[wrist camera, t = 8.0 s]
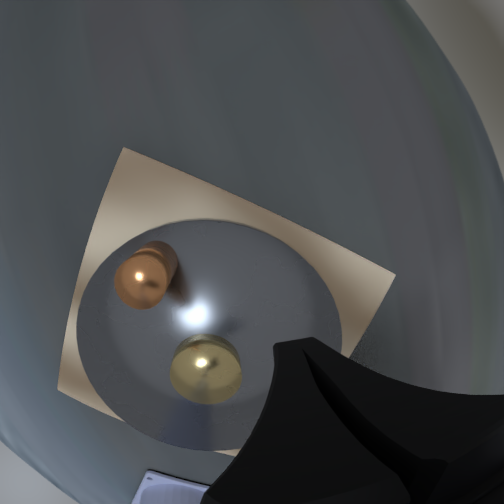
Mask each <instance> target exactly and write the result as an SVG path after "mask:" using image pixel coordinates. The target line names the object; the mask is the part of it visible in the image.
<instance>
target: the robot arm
mask: <svg viewBox="0 0 504 504" xmlns="http://www.w3.org/2000/svg"><path fill="white" fill-rule="evenodd" d="M273 357H274V371H273V377H272V382H271V385H270V389H269V393H268V396H267V399H266V402H265V405H264V407H263V410H262V412H261V414H260V417H259V419H258V421H257V423H256V425H255V427H254V428H253V430H252V432H251V434H250V436H249V438H248V439H247V441H246V442H245V444H244V445H243V447H242V448H241V450H240V451H239V453H238V454H237V455H236V457H235V458H234V460H233V461H232V462H231V464H230V465H229V466H228V467H227V469H226V470H225V471H224V472H223V473H222V474H221V475H220V476H219V478H218V479H217V480H216V481H215V482H214V483H213V484H212V485H211V486H206V485H202V484H197V483H193V482H189V481H185V480H181V479H178V478H174V477H171V476H167V475H164V474H161V473H157V472H154V471H147V472H146V473H145V475H144V477H143V480H142V482H141V484H140V486H139V488H138V490H137V492H136V494H135V497H134V499H133V501H132V503H131V504H504V395H467V394H456V393H448V392H441V391H435V390H431V389H426V388H422V387H417V386H414V385H410V384H407V383H404V382H401V381H398V380H395V379H392V378H389V377H386V376H384V375H381V374H379V373H377V372H375V371H373V370H370V369H368V368H366V367H364V366H362V365H360V364H358V363H356V362H354V361H353V360H351V359H349V358H347V357H345V356H344V355H342V354H340V353H339V352H337V351H335V350H334V349H332V348H331V347H329V346H327V345H326V344H324V343H323V342H321V341H319V340H318V339H316V338H314V337H308V338H302V339H296V340H290V341H284V342H278V343H275V344H274V345H273Z"/></svg>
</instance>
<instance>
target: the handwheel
mask: <svg viewBox="0 0 504 504" xmlns="http://www.w3.org/2000/svg"><path fill="white" fill-rule="evenodd" d="M308 337H314V338H316V339H318V340H319V341H321V342H323V343H324V344H326V345H327V346H329V347H331V348H332V349H334V350H335V351H337V352H339V353H340V354H341V350H342V327H341V322H340V316H339V312H338V309H337V306H336V304H335V301H334V298H333V296H332V294H331V292H330V291H329V289H328V287H327V285H326V283H325V282H324V281H323V279H322V278H321V277H320V275H319V274H318V273H317V271H316V270H315V269H314V268H313V267H312V266H311V265H310V264H309V263H308V262H307V261H306V260H305V259H304V258H303V257H302V256H301V255H300V254H299V253H298V252H297V251H296V250H294V249H293V248H291V247H290V246H289V245H287V244H286V243H285V242H283V241H282V240H280V239H279V238H277V237H275V236H273V235H271V234H269V233H267V232H265V231H263V230H261V229H258V228H255V227H253V226H250V225H247V224H244V223H239V222H235V221H230V220H225V219H213V218H196V219H184V220H179V221H174V222H168V223H165V224H163V225H160V226H157V227H154V228H151V229H149V230H147V231H145V232H143V233H141V234H139V235H137V236H135V237H133V238H132V239H130V240H129V241H127V242H126V243H125V244H123V245H122V246H120V247H119V248H118V249H116V250H115V251H114V252H112V253H111V254H110V255H109V256H108V257H107V258H106V259H105V260H104V261H103V262H102V263H101V264H100V266H99V267H98V269H97V270H96V271H95V273H94V274H93V275H92V277H91V278H90V280H89V282H88V284H87V286H86V288H85V290H84V292H83V295H82V298H81V302H80V305H79V308H78V315H77V322H76V339H77V345H78V352H79V356H80V359H81V362H82V366H83V368H84V370H85V373H86V375H87V377H88V379H89V381H90V383H91V384H92V386H93V388H94V389H95V391H96V393H97V394H98V395H99V396H100V398H101V399H102V400H103V401H104V403H105V404H106V405H107V406H108V407H109V408H110V409H111V410H112V411H113V412H114V413H115V414H116V415H117V416H118V417H120V418H121V419H122V420H123V421H125V422H126V423H127V424H129V425H130V426H132V427H133V428H135V429H136V430H138V431H140V432H141V433H143V434H145V435H147V436H149V437H151V438H154V439H156V440H159V441H161V442H164V443H167V444H170V445H174V446H178V447H181V448H187V449H193V450H203V451H226V450H234V449H241V448H242V447H243V445H244V444H245V442H246V441H247V439H248V438H249V436H250V434H251V432H252V430H253V428H254V427H255V425H256V423H257V421H258V419H259V417H260V414H261V412H262V410H263V407H264V405H265V402H266V399H267V396H268V393H269V389H270V385H271V382H272V377H273V371H274V357H273V345H274V344H275V343H278V342H284V341H290V340H296V339H302V338H308Z"/></svg>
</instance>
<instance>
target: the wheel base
mask: <svg viewBox="0 0 504 504" xmlns="http://www.w3.org/2000/svg"><path fill="white" fill-rule="evenodd" d="M196 218H213V219H225V220H230V221H235V222H239V223H244V224H247V225H250V226H253V227H255V228H258V229H261V230H263V231H265V232H267V233H269V234H271V235H273V236H275V237H277V238H279V239H280V240H282V241H283V242H285V243H286V244H287V245H289V246H290V247H291V248H293V249H294V250H296V251H297V252H298V253H299V254H300V255H301V256H302V257H303V258H304V259H305V260H306V261H307V262H308V263H309V264H310V265H311V266H312V267H313V268H314V269H315V270H316V271H317V273H318V274H319V275H320V277H321V278H322V279H323V281H324V282H325V283H326V285H327V287H328V289H329V291H330V292H331V294H332V296H333V298H334V301H335V304H336V306H337V309H338V312H339V316H340V322H341V327H342V350H341V354H342V355H344V356H345V357H347V358H349V357H350V355H351V353H352V352H353V350H354V349H355V347H356V345H357V344H358V342H359V340H360V339H361V337H362V335H363V334H364V332H365V330H366V329H367V327H368V325H369V323H370V322H371V320H372V318H373V316H374V315H375V313H376V311H377V309H378V308H379V306H380V304H381V302H382V300H383V298H384V297H385V295H386V293H387V291H388V289H389V287H390V285H391V283H392V281H393V279H394V277H395V274H393V273H392V272H390V271H388V270H386V269H384V268H383V267H381V266H379V265H377V264H375V263H373V262H371V261H369V260H367V259H365V258H364V257H362V256H360V255H358V254H356V253H354V252H352V251H350V250H348V249H346V248H344V247H342V246H340V245H338V244H336V243H334V242H332V241H330V240H328V239H326V238H324V237H322V236H320V235H318V234H316V233H314V232H312V231H310V230H308V229H306V228H304V227H302V226H300V225H298V224H296V223H294V222H292V221H290V220H288V219H285V218H283V217H281V216H279V215H277V214H275V213H273V212H271V211H269V210H267V209H264V208H262V207H260V206H258V205H256V204H254V203H252V202H249V201H247V200H245V199H243V198H241V197H239V196H236V195H234V194H232V193H230V192H228V191H225V190H223V189H221V188H219V187H217V186H214V185H212V184H210V183H208V182H205V181H203V180H201V179H199V178H196V177H194V176H192V175H189V174H187V173H185V172H182V171H180V170H178V169H176V168H173V167H171V166H169V165H166V164H164V163H161V162H159V161H157V160H154V159H152V158H150V157H147V156H145V155H142V154H140V153H137V152H135V151H133V150H130V149H127V148H124V147H123V150H122V152H121V154H120V156H119V159H118V161H117V163H116V166H115V168H114V171H113V173H112V176H111V178H110V181H109V183H108V186H107V188H106V191H105V194H104V196H103V199H102V202H101V205H100V207H99V210H98V213H97V216H96V219H95V222H94V225H93V228H92V231H91V234H90V237H89V240H88V244H87V247H86V250H85V254H84V257H83V261H82V264H81V268H80V272H79V275H78V279H77V283H76V287H75V291H74V295H73V300H72V304H71V309H70V313H69V318H68V323H67V328H66V333H65V339H64V345H63V351H62V357H61V364H60V371H59V379H58V388H57V390H59V391H61V392H63V393H65V394H67V395H68V396H70V397H72V398H74V399H76V400H78V401H80V402H82V403H84V404H86V405H88V406H90V407H93V408H95V409H97V410H99V411H101V412H103V413H106V414H108V415H110V416H112V417H115V418H117V419H119V420H122V419H121V418H120V417H118V416H117V415H116V414H115V413H114V412H113V411H112V410H111V409H110V408H109V407H108V406H107V405H106V404H105V403H104V401H103V400H102V399H101V398H100V396H99V395H98V394H97V393H96V391H95V389H94V388H93V386H92V384H91V383H90V381H89V379H88V377H87V375H86V373H85V370H84V368H83V366H82V362H81V359H80V356H79V352H78V345H77V339H76V322H77V315H78V308H79V305H80V302H81V298H82V295H83V292H84V290H85V288H86V286H87V284H88V282H89V280H90V278H91V277H92V275H93V274H94V273H95V271H96V270H97V269H98V267H99V266H100V264H101V263H102V262H103V261H104V260H105V259H106V258H107V257H108V256H109V255H110V254H111V253H112V252H114V251H115V250H116V249H118V248H119V247H120V246H122V245H123V244H125V243H126V242H127V241H129V240H130V239H132V238H133V237H135V236H137V235H139V234H141V233H143V232H145V231H147V230H149V229H151V228H154V227H157V226H160V225H163V224H165V223H168V222H174V221H179V220H184V219H196ZM122 421H123V420H122ZM124 422H125V421H124ZM240 450H241V449H234V450H226V451H215V452H219V453H224V454H228V455H232V456H236V455H237V454H238V453H239V451H240Z"/></svg>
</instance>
